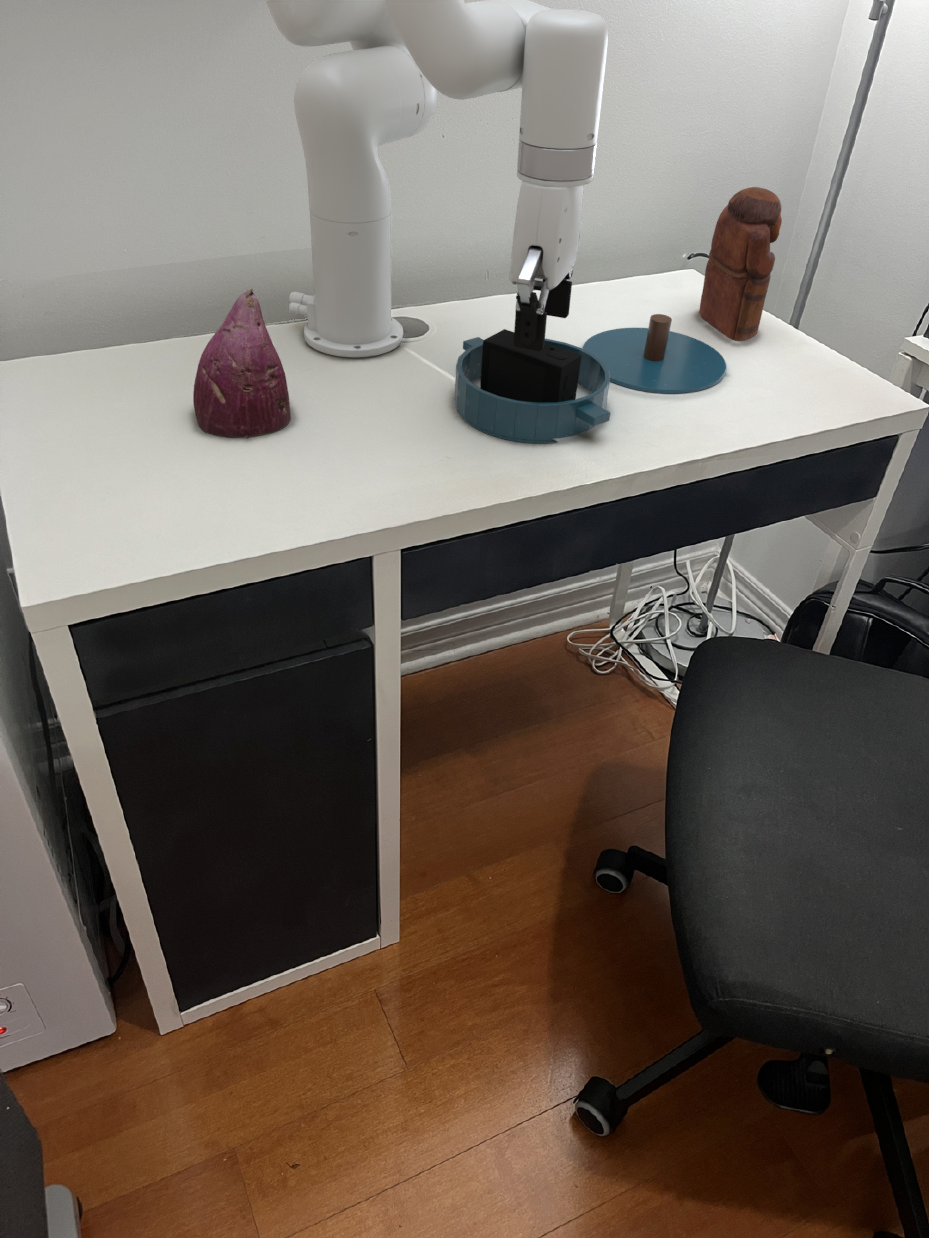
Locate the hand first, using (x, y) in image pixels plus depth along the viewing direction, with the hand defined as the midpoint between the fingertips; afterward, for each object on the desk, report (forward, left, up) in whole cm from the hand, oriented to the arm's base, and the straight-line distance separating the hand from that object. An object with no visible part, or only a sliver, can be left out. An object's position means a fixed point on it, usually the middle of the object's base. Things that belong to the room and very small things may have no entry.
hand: (541, 331), depth 103 cm
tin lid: (+10, +18, -9) cm, 22 cm away
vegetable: (-29, -16, -9) cm, 34 cm away
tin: (-1, 0, -9) cm, 9 cm away
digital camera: (-1, 0, -9) cm, 9 cm away
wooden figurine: (+17, +34, -9) cm, 39 cm away
